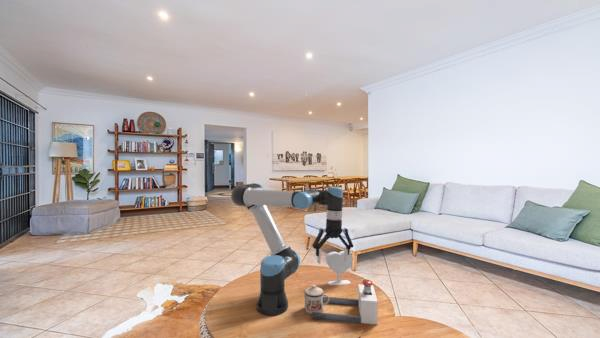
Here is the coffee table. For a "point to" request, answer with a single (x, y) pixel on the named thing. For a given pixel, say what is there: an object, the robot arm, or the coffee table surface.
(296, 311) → the coffee table surface
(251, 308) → the coffee table surface
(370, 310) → the end cabinet
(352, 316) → the pair of grey rails
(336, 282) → the heart sculpture
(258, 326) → the coffee table surface
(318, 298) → the teacup with lid
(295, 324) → the coffee table surface
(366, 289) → the red knob
